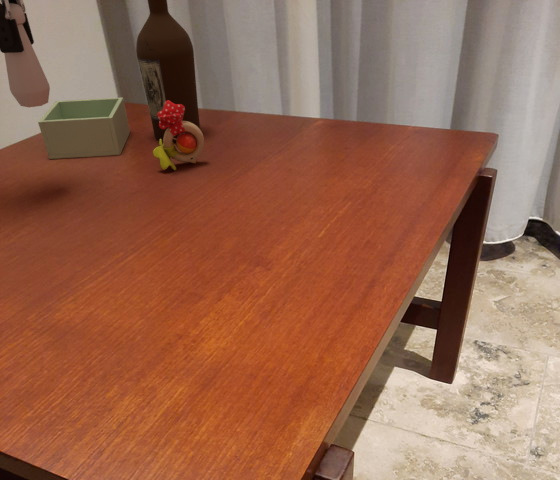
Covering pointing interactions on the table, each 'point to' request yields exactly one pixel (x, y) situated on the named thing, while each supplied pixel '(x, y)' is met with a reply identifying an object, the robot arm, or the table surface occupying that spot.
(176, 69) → the olive oil
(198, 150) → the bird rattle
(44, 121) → the bin
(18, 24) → the salt shaker
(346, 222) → the table surface
